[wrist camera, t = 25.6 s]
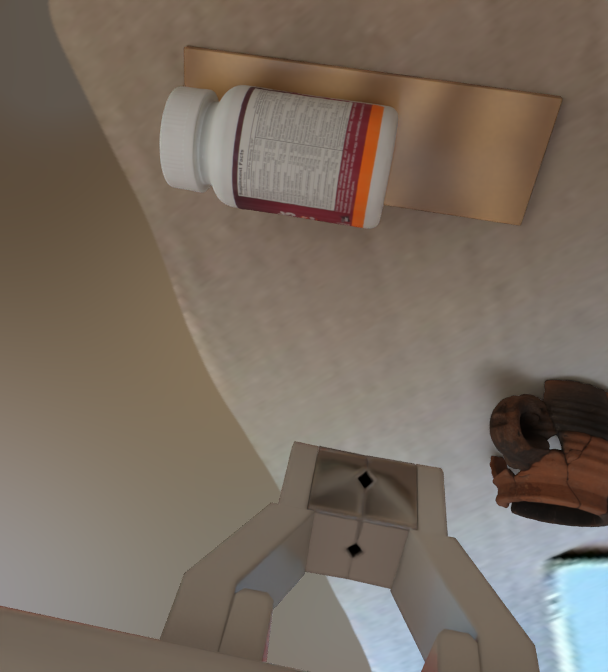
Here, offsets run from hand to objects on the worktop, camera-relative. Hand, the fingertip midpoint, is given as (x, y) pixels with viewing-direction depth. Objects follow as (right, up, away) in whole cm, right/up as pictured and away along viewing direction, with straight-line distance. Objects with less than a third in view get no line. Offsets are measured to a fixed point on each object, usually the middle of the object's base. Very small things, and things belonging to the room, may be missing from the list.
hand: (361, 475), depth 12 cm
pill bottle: (+3, +11, +18) cm, 21 cm away
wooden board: (+2, +14, +21) cm, 25 cm away
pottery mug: (+16, -3, +30) cm, 34 cm away
